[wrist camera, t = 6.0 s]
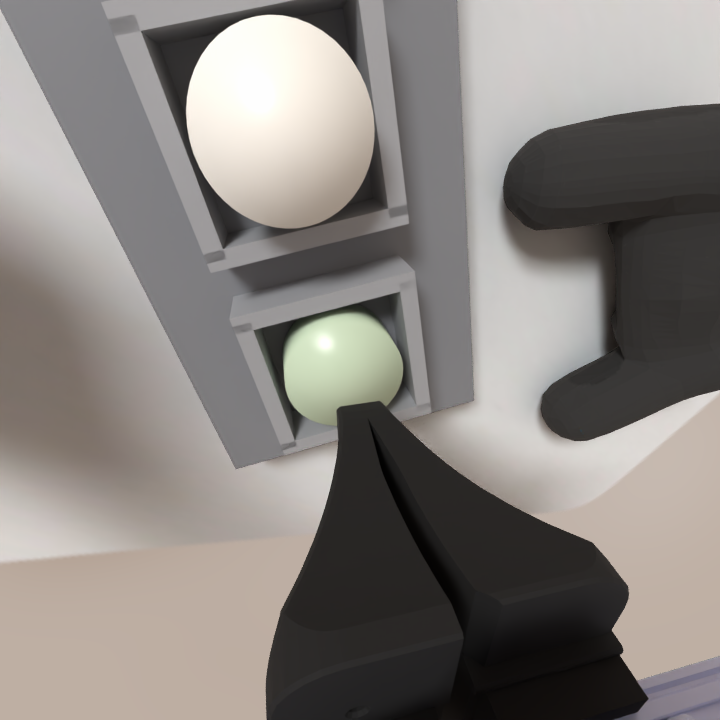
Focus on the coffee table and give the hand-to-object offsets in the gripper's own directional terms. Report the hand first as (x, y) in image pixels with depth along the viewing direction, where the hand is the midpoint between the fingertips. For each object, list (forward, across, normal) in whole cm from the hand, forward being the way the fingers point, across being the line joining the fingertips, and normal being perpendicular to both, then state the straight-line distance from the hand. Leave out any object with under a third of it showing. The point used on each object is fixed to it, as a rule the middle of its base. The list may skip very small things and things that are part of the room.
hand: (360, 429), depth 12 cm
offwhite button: (+4, +1, -8) cm, 9 cm away
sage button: (+5, 0, 0) cm, 5 cm away
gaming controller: (+8, -14, -1) cm, 17 cm away
